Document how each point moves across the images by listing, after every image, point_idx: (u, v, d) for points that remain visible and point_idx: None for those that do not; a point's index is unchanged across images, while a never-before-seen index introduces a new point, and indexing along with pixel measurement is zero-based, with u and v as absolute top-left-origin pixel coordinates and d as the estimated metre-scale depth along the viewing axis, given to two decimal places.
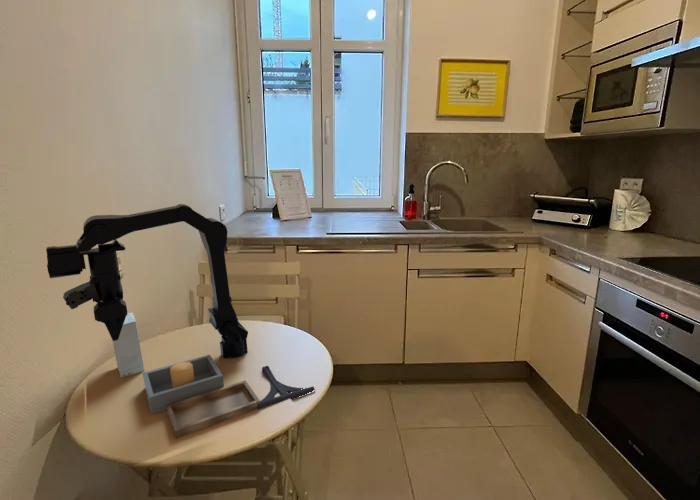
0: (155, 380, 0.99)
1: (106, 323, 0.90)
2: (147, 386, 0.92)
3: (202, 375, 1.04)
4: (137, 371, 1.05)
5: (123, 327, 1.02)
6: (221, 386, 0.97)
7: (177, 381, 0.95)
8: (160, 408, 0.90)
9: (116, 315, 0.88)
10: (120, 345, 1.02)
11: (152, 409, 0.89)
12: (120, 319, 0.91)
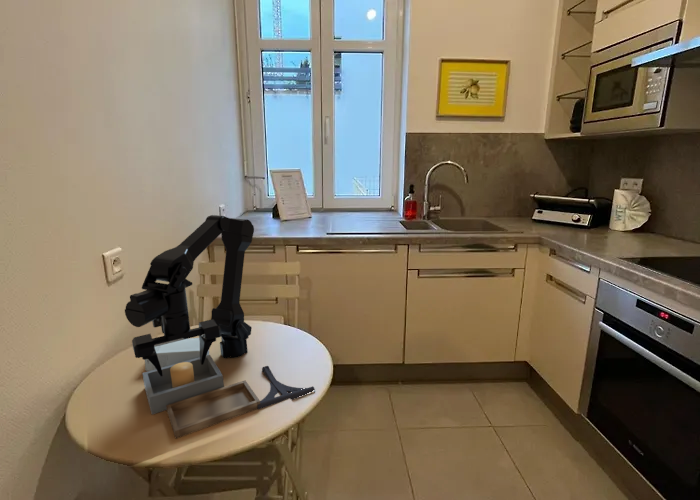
0: (155, 380, 0.99)
1: None
2: (147, 386, 0.92)
3: (202, 375, 1.04)
4: (149, 367, 1.06)
5: None
6: (221, 386, 0.97)
7: (177, 381, 0.95)
8: (160, 408, 0.90)
9: (134, 353, 0.89)
10: (180, 356, 1.06)
11: (152, 409, 0.89)
12: None
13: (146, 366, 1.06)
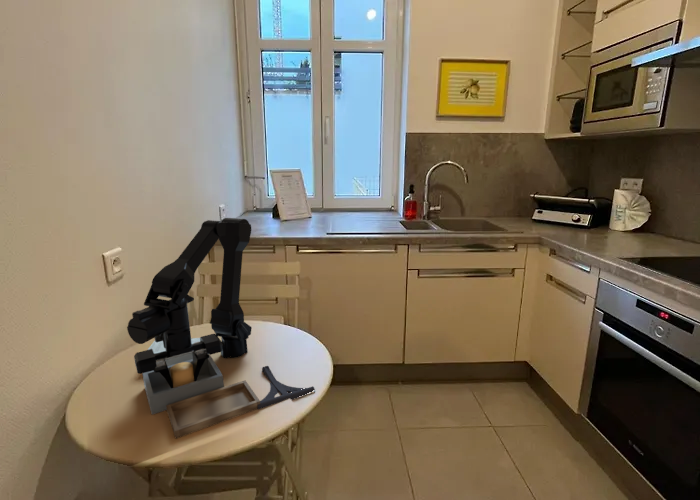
0: (155, 380, 0.99)
1: None
2: (147, 386, 0.92)
3: (202, 375, 1.04)
4: None
5: None
6: (221, 386, 0.97)
7: (177, 381, 0.95)
8: (160, 408, 0.90)
9: (136, 368, 0.90)
10: (180, 356, 1.06)
11: (152, 409, 0.89)
12: None
13: None
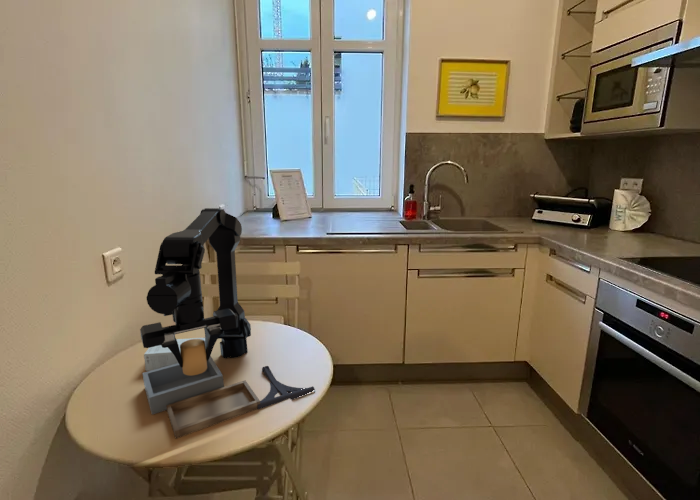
0: (155, 380, 0.99)
1: None
2: (147, 386, 0.92)
3: (202, 375, 1.04)
4: (149, 367, 1.06)
5: None
6: (221, 386, 0.97)
7: (187, 359, 0.85)
8: (160, 408, 0.90)
9: (142, 342, 0.80)
10: None
11: (152, 409, 0.89)
12: None
13: (146, 366, 1.06)
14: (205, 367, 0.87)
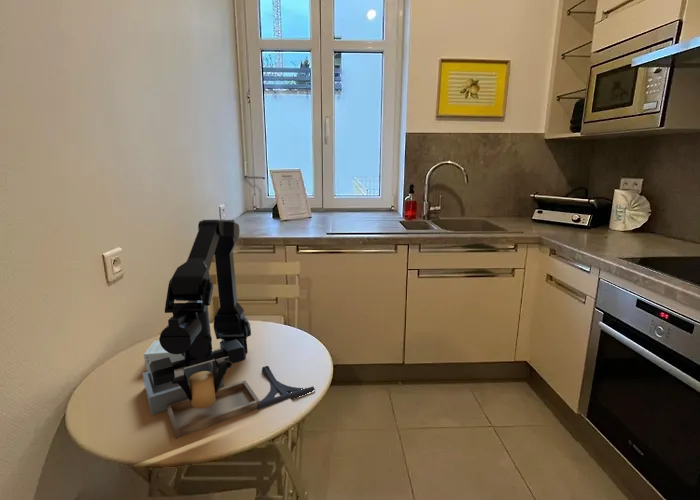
0: None
1: None
2: (147, 386, 0.92)
3: None
4: None
5: None
6: (221, 386, 0.97)
7: (196, 393, 0.85)
8: (160, 408, 0.90)
9: (152, 379, 0.81)
10: (180, 356, 1.06)
11: (152, 409, 0.89)
12: None
13: (146, 366, 1.06)
14: (214, 399, 0.88)
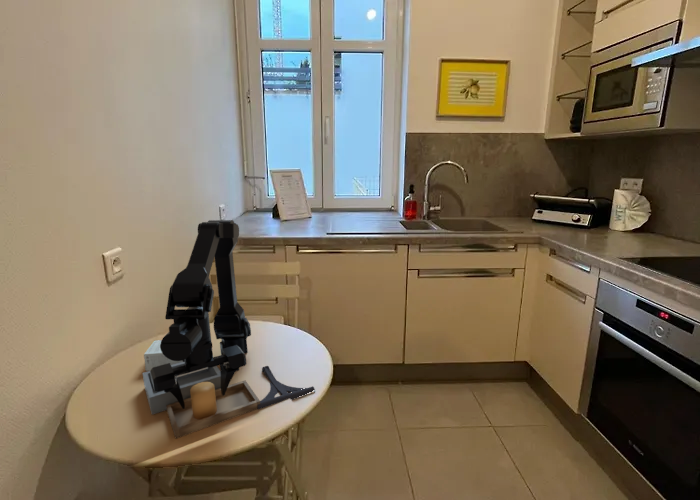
0: None
1: None
2: (147, 386, 0.92)
3: (202, 375, 1.04)
4: (149, 367, 1.06)
5: None
6: None
7: (198, 404, 0.86)
8: (160, 408, 0.90)
9: (153, 385, 0.81)
10: None
11: (152, 409, 0.89)
12: None
13: (146, 366, 1.06)
14: (215, 410, 0.89)
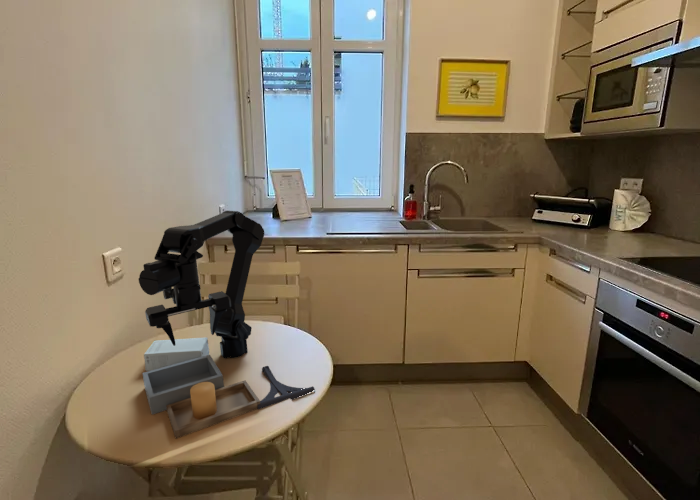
0: (155, 380, 0.99)
1: None
2: (147, 386, 0.92)
3: (202, 375, 1.04)
4: (149, 367, 1.06)
5: None
6: (221, 386, 0.97)
7: (197, 404, 0.86)
8: (160, 408, 0.90)
9: (148, 322, 0.92)
10: (180, 356, 1.06)
11: (152, 409, 0.89)
12: None
13: (146, 366, 1.06)
14: (215, 410, 0.89)
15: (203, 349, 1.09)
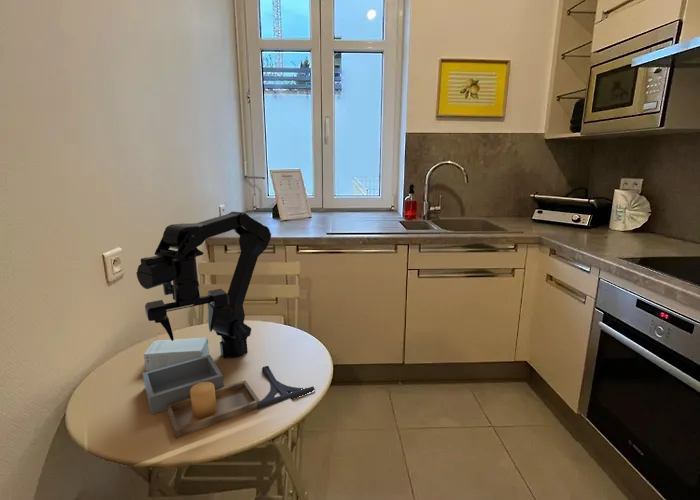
0: (155, 380, 0.99)
1: None
2: (147, 386, 0.92)
3: (202, 375, 1.04)
4: (149, 367, 1.06)
5: None
6: (221, 386, 0.97)
7: (198, 404, 0.86)
8: (160, 408, 0.90)
9: (147, 316, 0.94)
10: (180, 356, 1.06)
11: (152, 409, 0.89)
12: None
13: (146, 366, 1.06)
14: (215, 410, 0.89)
15: (203, 349, 1.09)
